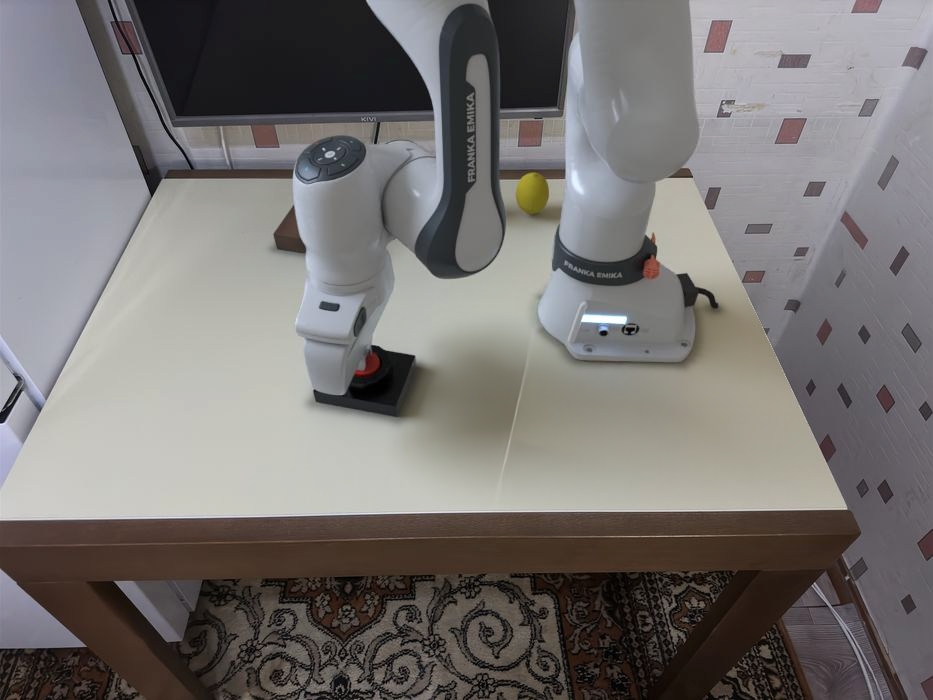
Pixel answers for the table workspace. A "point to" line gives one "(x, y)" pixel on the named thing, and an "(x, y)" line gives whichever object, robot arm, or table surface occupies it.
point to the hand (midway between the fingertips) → (362, 362)
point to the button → (369, 367)
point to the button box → (377, 385)
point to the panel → (289, 234)
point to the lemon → (532, 193)
